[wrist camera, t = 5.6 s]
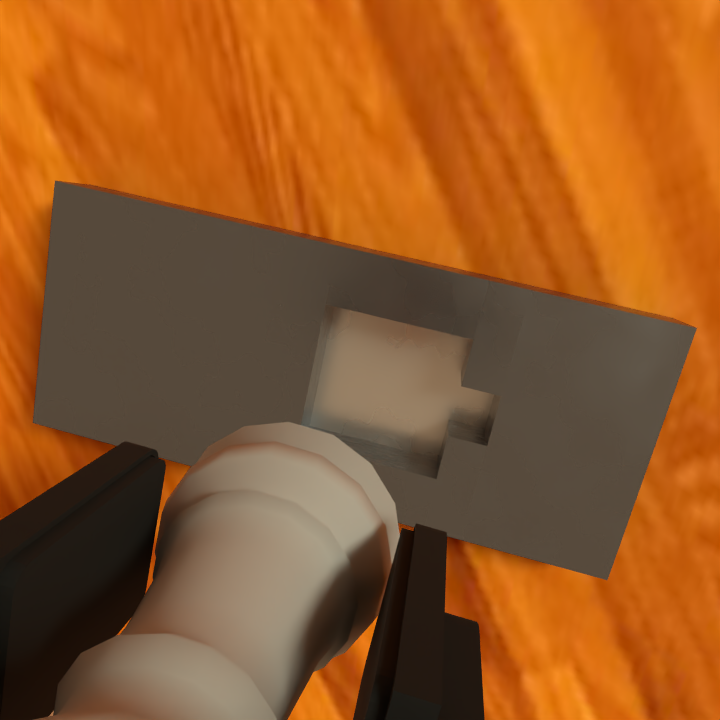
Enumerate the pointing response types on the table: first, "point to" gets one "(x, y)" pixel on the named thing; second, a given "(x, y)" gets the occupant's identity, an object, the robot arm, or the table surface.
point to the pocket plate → (358, 368)
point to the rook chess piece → (246, 584)
